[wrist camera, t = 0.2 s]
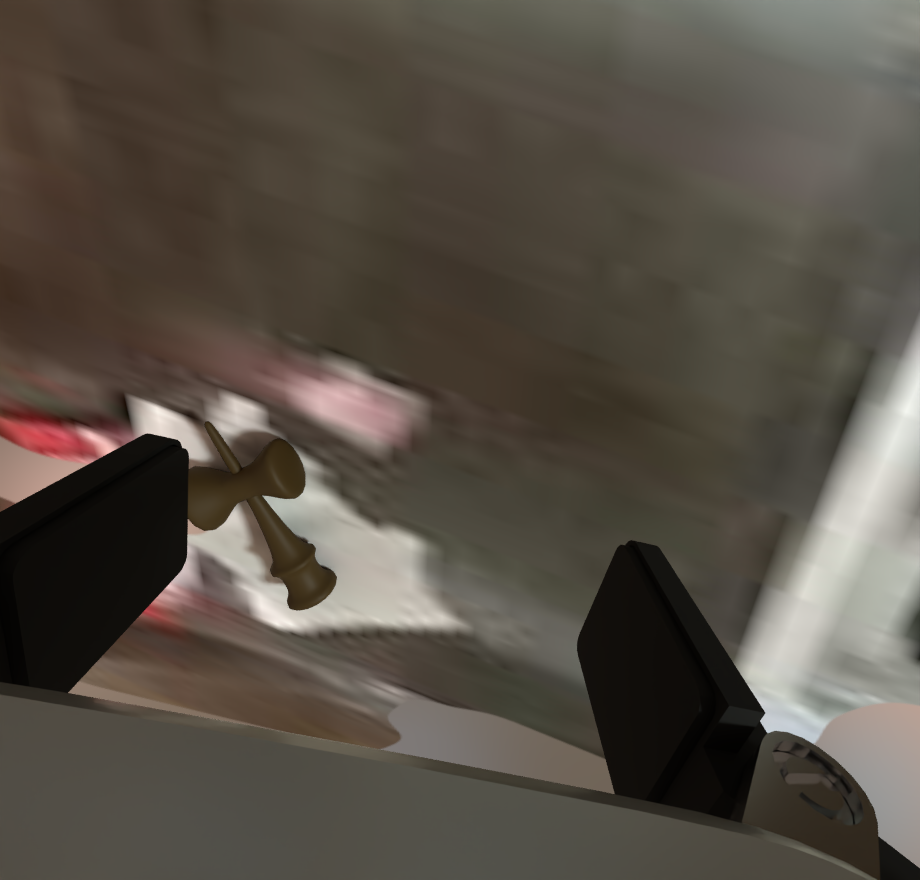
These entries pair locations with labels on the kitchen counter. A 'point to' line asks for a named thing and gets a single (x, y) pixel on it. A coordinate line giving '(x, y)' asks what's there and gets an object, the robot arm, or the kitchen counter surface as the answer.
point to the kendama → (262, 512)
